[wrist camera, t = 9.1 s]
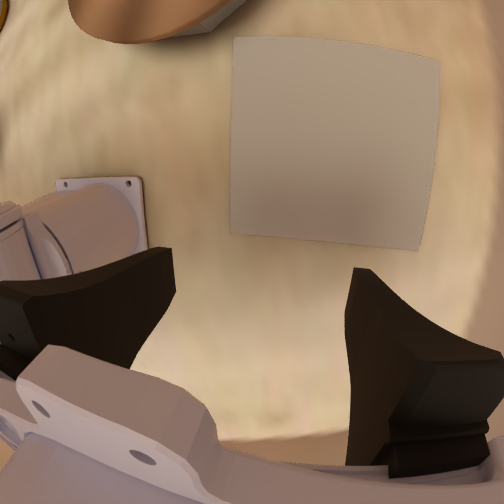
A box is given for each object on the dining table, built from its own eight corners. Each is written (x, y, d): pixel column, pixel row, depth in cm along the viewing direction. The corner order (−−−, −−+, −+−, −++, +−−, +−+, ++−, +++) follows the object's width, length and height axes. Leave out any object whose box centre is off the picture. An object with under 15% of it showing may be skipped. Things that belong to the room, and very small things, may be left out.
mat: (231, 231, 22) (230, 233, 22) (234, 38, 17) (233, 36, 16) (416, 249, 20) (418, 251, 20) (438, 62, 15) (440, 61, 14)
